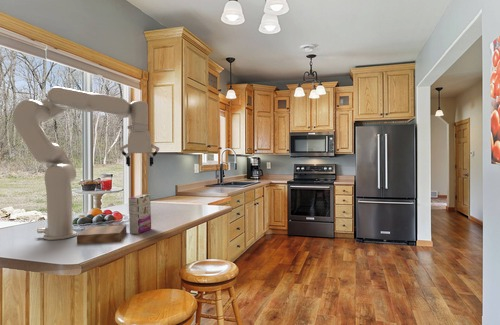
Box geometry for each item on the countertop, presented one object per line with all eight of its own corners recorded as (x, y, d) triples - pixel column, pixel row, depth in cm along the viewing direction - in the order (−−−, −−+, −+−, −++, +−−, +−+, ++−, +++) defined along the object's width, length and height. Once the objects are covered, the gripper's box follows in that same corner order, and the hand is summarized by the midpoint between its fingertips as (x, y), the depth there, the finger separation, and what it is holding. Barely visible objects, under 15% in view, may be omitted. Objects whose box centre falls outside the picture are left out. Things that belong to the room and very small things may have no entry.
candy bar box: (141, 228, 159) (141, 194, 158) (151, 229, 158) (150, 194, 157) (128, 234, 148) (128, 197, 147) (139, 234, 147) (138, 197, 146)
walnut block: (77, 245, 132) (76, 235, 132) (88, 235, 147) (88, 226, 147) (119, 242, 135) (119, 232, 135) (126, 233, 150) (126, 224, 150)
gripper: (118, 127, 146) (118, 166, 147) (158, 128, 150) (158, 166, 150) (121, 129, 154) (121, 166, 154) (159, 129, 157) (160, 165, 157)
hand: (139, 166), depth 152 cm, fingers open, 9 cm apart
